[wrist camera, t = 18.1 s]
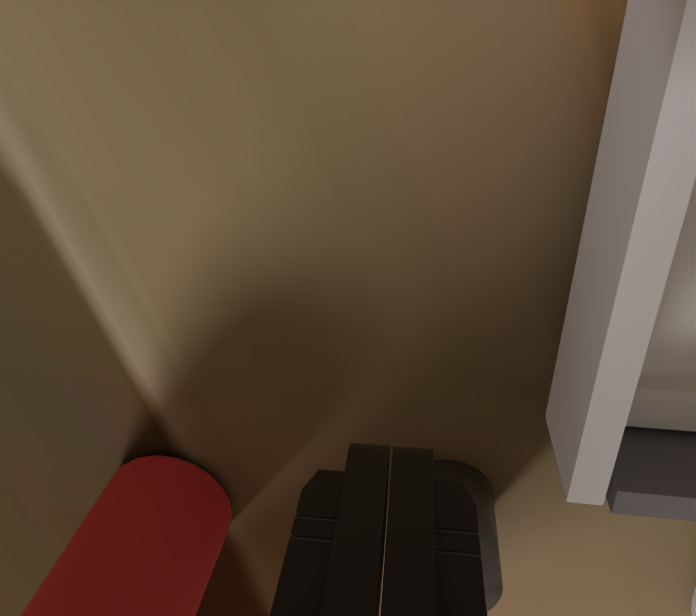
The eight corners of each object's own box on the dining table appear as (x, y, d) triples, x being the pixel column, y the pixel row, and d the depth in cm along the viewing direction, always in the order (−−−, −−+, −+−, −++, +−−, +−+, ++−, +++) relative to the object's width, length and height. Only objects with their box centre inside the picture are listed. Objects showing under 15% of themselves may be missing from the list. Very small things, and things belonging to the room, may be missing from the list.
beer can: (193, 433, 29) (56, 685, 19) (258, 525, 32) (169, 792, 21) (90, 466, 31) (-84, 709, 21) (159, 549, 34) (34, 803, 23)
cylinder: (399, 522, 30) (392, 613, 26) (402, 456, 28) (396, 542, 24) (487, 531, 30) (495, 625, 25) (497, 464, 28) (509, 555, 23)
